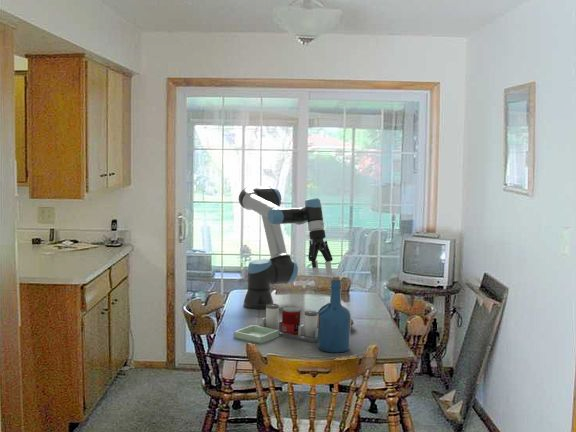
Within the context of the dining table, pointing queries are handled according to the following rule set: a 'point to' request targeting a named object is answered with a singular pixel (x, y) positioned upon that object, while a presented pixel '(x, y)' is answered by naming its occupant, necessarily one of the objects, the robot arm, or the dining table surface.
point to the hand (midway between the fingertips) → (323, 274)
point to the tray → (256, 334)
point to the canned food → (291, 320)
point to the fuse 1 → (272, 316)
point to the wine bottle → (334, 322)
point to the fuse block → (299, 336)
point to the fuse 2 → (310, 323)
